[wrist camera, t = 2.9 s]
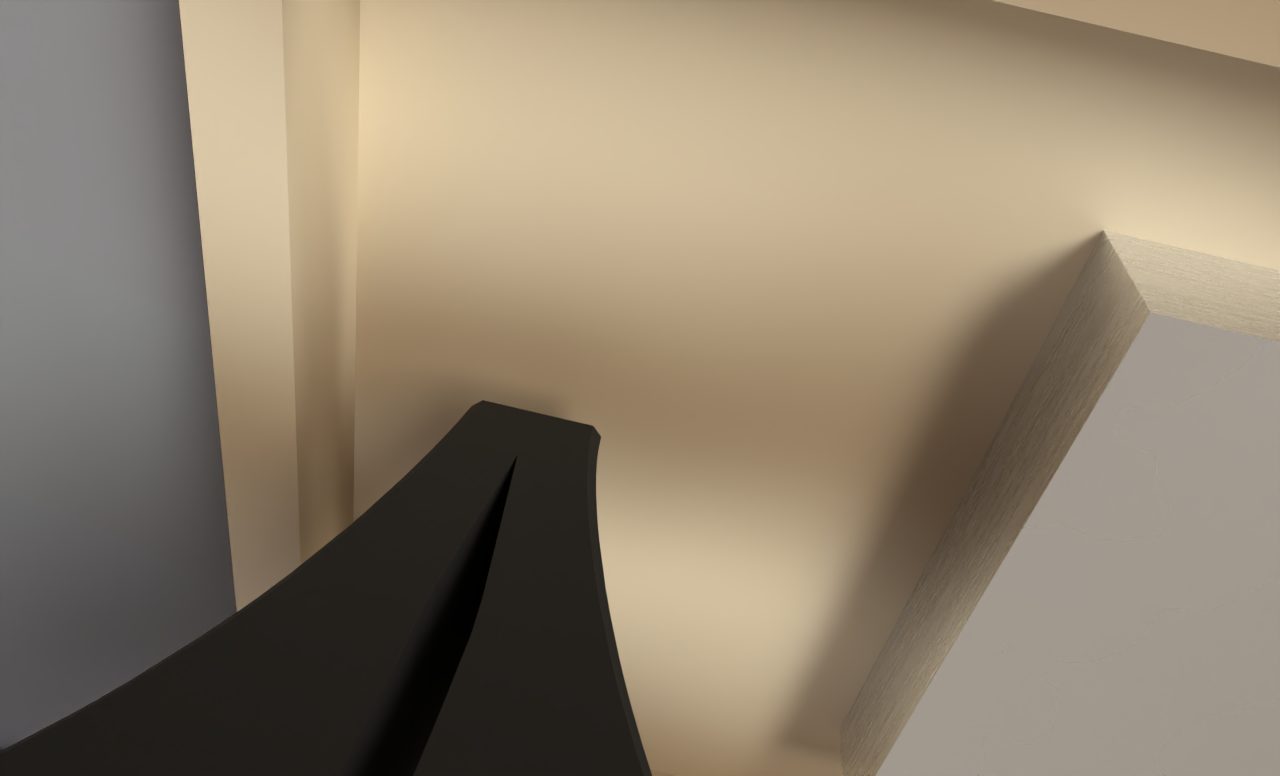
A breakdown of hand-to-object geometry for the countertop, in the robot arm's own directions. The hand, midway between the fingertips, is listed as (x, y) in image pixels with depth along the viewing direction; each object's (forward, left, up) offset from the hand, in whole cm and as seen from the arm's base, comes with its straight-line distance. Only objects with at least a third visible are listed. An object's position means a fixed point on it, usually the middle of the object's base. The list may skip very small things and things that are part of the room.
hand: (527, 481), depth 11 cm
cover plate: (0, -8, -1) cm, 8 cm away
